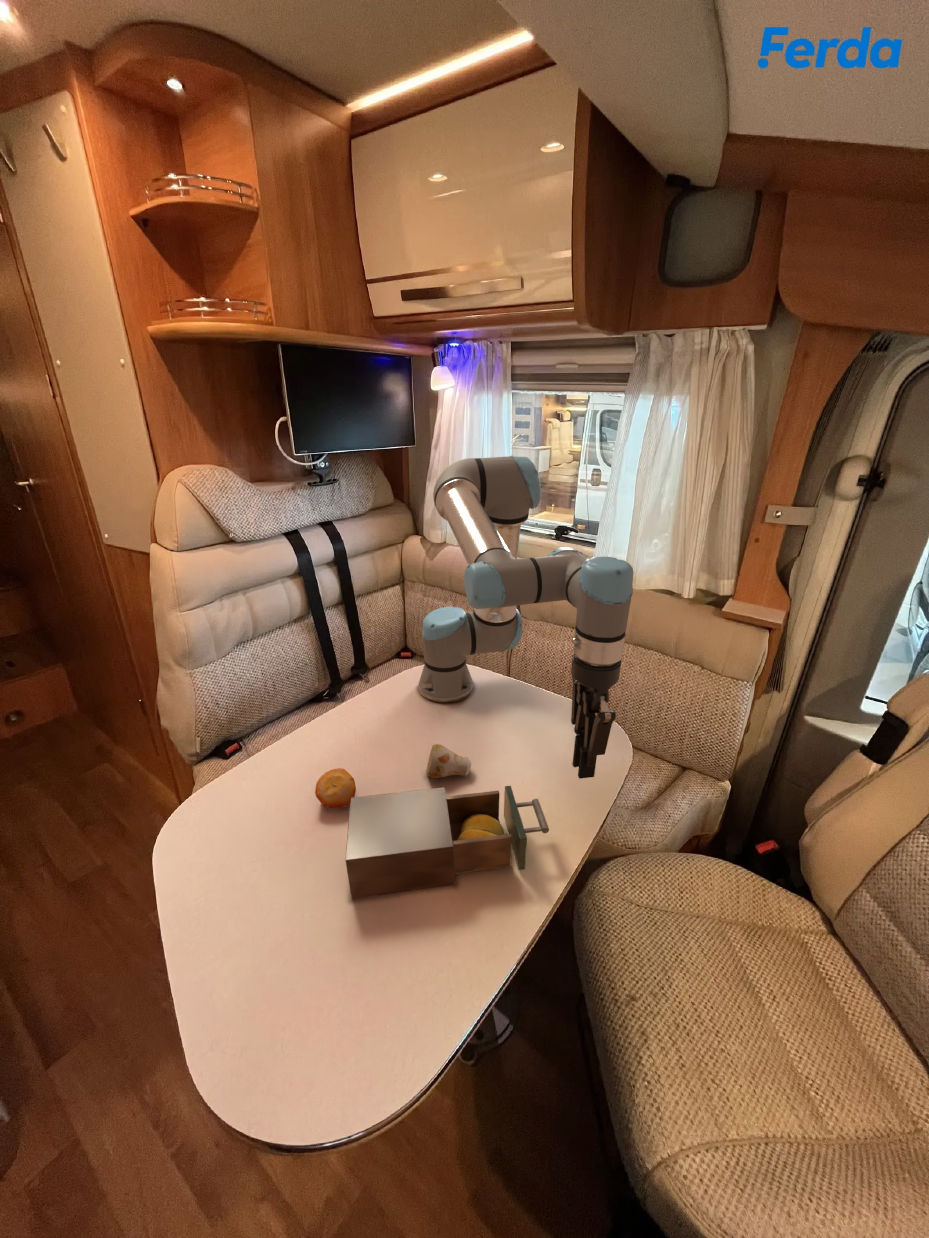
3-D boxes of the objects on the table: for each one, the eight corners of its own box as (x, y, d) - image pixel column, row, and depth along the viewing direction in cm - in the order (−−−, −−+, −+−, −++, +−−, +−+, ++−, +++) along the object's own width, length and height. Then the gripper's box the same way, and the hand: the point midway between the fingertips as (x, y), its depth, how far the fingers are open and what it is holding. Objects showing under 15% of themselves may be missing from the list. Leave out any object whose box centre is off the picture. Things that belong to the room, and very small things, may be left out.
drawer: (533, 812, 100) (535, 782, 97) (551, 865, 89) (554, 834, 86) (427, 824, 98) (425, 795, 94) (432, 881, 86) (430, 850, 83)
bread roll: (453, 857, 89) (452, 842, 88) (465, 819, 97) (465, 804, 96) (498, 867, 87) (498, 851, 86) (507, 827, 95) (508, 812, 94)
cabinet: (446, 823, 99) (444, 786, 95) (454, 885, 87) (453, 846, 83) (356, 834, 97) (350, 797, 93) (351, 899, 85) (345, 860, 80)
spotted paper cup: (475, 784, 109) (452, 759, 103) (437, 793, 112) (413, 770, 107) (477, 755, 114) (455, 730, 109) (440, 764, 118) (418, 741, 112)
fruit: (357, 773, 110) (353, 762, 103) (358, 810, 105) (354, 801, 99) (319, 778, 108) (313, 767, 102) (319, 816, 104) (312, 806, 98)
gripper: (559, 635, 85) (550, 744, 95) (592, 684, 71) (577, 805, 81) (601, 632, 86) (587, 740, 96) (641, 679, 72) (621, 800, 82)
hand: (583, 770), depth 89 cm, fingers open, 2 cm apart
